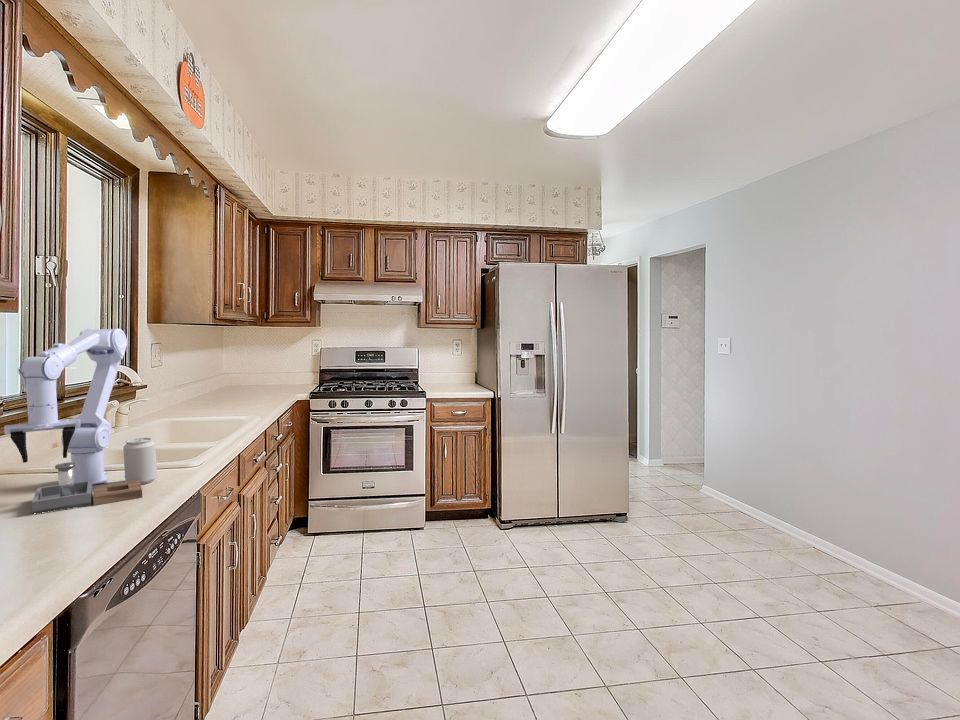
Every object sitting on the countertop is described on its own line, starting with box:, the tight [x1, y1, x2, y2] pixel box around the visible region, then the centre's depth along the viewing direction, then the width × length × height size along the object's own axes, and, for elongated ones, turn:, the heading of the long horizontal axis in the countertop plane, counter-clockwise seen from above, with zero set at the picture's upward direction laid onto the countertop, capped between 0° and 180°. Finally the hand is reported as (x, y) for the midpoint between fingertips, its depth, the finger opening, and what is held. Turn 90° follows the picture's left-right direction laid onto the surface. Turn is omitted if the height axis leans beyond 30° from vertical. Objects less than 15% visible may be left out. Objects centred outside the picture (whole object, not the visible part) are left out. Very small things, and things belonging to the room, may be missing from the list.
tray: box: [31, 480, 94, 515], centre depth 132 cm, size 13×11×3 cm
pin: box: [54, 461, 76, 497], centre depth 132 cm, size 4×4×9 cm
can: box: [122, 437, 158, 485], centre depth 149 cm, size 8×8×12 cm
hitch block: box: [92, 480, 143, 506], centre depth 137 cm, size 10×10×2 cm
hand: (45, 459), depth 133 cm, fingers open, 7 cm apart
